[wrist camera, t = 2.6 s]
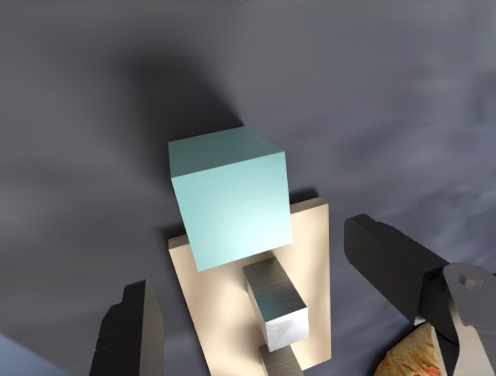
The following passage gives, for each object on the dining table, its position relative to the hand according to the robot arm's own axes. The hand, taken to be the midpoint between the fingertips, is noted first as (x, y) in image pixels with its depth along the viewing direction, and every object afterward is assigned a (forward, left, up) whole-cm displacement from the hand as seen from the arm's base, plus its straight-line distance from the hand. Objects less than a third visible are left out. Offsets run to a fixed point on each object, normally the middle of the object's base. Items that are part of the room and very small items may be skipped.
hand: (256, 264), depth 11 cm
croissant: (-22, +38, -12) cm, 46 cm away
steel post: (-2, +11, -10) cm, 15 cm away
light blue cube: (0, 0, -12) cm, 12 cm away
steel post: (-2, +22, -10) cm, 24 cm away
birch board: (-2, +16, -12) cm, 20 cm away
